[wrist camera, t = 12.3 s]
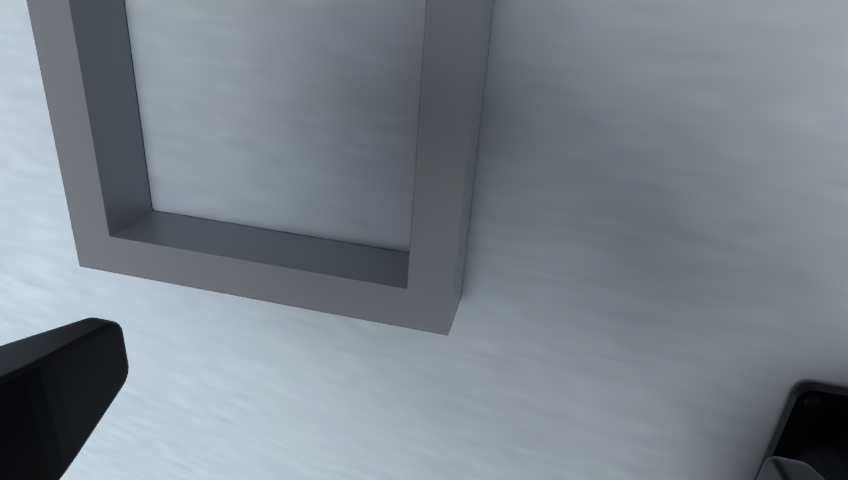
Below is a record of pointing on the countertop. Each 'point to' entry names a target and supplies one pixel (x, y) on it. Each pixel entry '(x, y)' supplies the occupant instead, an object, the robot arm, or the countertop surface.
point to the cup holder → (248, 246)
